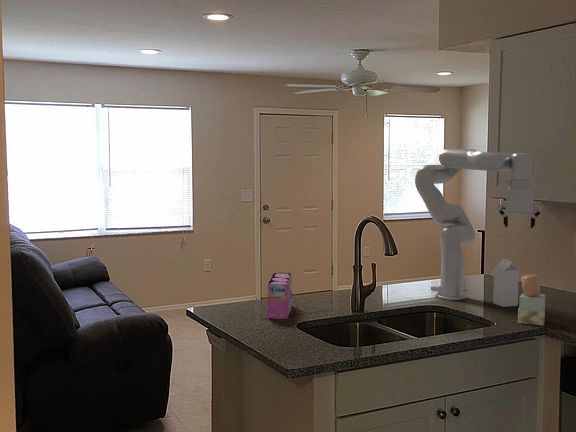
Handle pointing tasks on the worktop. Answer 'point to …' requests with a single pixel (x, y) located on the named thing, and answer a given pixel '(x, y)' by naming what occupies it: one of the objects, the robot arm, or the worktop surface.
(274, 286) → the gum box
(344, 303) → the worktop surface
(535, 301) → the sage block
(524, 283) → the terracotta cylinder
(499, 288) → the milk carton
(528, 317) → the birch block
